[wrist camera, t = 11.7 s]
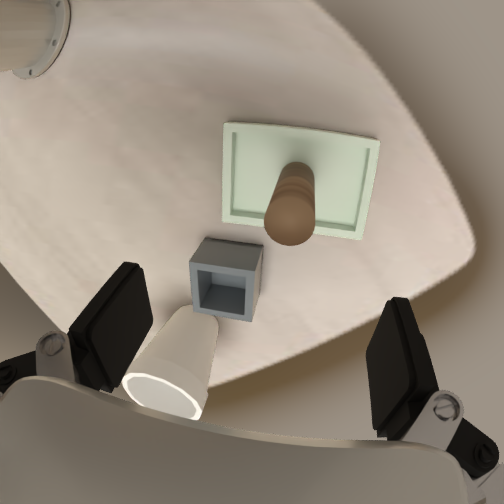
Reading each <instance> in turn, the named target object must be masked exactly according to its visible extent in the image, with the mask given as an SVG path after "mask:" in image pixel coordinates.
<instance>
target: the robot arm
mask: <svg viewBox="0 0 504 504" xmlns="http://www.w3.org/2000/svg"><path fill="white" fill-rule="evenodd" d="M69 20H70V10H69V4H68V1H67V0H0V72H2V71H8V70H12V71H13V73H14V74H15V75H16V76H17V77H19V78H22V79H30V78H34V77H37V76H39V75H40V74H42V73H43V72H44V71H46V70H47V69H48V68H49V66H50V65H51V64H52V63H53V61H54V60H55V58H56V57H57V55H58V54H59V52H60V50H61V48H62V46H63V43H64V40H65V38H66V35H67V31H68V26H69ZM152 324H153V315H152V311H151V306H150V302H149V297H148V292H147V287H146V282H145V277H144V271H143V269H142V268H140V266H139V264H137V263H132V262H123V263H122V264H121V266H120V267H119V268H118V269H117V270H116V271H115V272H114V274H113V275H112V276H111V277H110V278H109V279H108V281H107V282H106V283H105V284H104V285H103V287H102V288H101V289H100V290H99V291H98V293H97V294H96V295H95V296H94V297H93V299H92V300H91V301H90V302H89V304H88V305H87V306H86V307H85V309H84V310H83V311H82V312H81V314H80V315H79V316H78V317H77V319H76V320H75V321H74V322H73V324H72V325H71V326H70V328H69V332H68V333H67V334H66V333H64V332H62V331H57V330H56V331H50V332H48V333H46V334H44V335H43V336H42V337H41V338H40V339H39V341H38V343H37V344H36V350H35V351H32V352H29V353H26V354H23V355H20V356H17V357H14V358H11V359H8V360H5V361H3V362H1V363H0V504H504V464H503V463H501V464H499V463H498V460H499V450H498V447H497V445H496V443H495V442H494V441H493V440H492V439H490V438H489V437H488V436H486V435H485V434H484V433H482V432H481V431H480V430H479V429H477V428H476V427H474V426H473V425H472V424H471V423H469V422H468V421H467V420H465V419H464V418H463V413H464V409H463V408H464V407H463V404H462V402H461V400H460V399H459V397H458V396H457V395H455V394H454V393H452V392H450V391H446V390H440V391H439V387H438V384H437V380H436V376H435V373H434V369H433V365H432V362H431V359H430V355H429V352H428V349H427V346H426V342H425V339H424V337H423V335H422V334H421V333H420V331H419V328H418V325H417V322H416V319H415V317H414V314H413V311H412V308H411V305H410V302H409V300H408V299H407V298H401V297H393V298H392V299H391V300H388V301H387V302H386V304H385V307H384V310H383V312H382V315H381V317H380V319H379V322H378V324H377V327H376V329H375V331H374V334H373V336H372V338H371V341H370V343H369V345H368V347H367V350H366V361H367V370H368V379H369V388H370V399H371V410H372V424H373V429H374V430H377V437H387V441H383V440H337V439H318V438H305V437H293V436H284V435H276V434H268V433H261V432H254V431H247V430H241V429H235V428H229V427H224V426H220V425H214V424H210V423H205V422H201V421H196V420H192V419H188V418H184V417H180V416H176V415H172V414H168V413H165V412H161V411H158V410H154V409H151V408H147V407H144V406H141V405H138V404H135V403H131V402H128V401H125V400H123V399H119V398H117V397H114V396H111V395H108V394H105V393H102V392H99V390H100V389H101V390H103V391H106V392H109V393H112V391H113V389H114V388H115V387H118V386H119V385H120V383H121V381H122V379H123V377H124V375H125V373H126V372H127V370H128V368H129V366H130V364H131V362H132V361H133V359H134V357H135V355H136V353H137V351H138V350H139V348H140V346H141V344H142V342H143V341H144V339H145V337H146V335H147V333H148V332H149V330H150V328H151V326H152Z"/></svg>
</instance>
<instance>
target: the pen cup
mask: <svg viewBox="0 0 504 504" xmlns="http://www.w3.org/2000/svg"><path fill="white" fill-rule="evenodd" d="M262 257H263V245H257V244H249V243H242V242H234V241H226V240H219V239H211V238H205V239H204V240H203V242H202V243H201V245H200V246H199V247H198V249H197V250H196V252H195V253H194V255H193V256H192V258H191V259H190V261H189V269H190V281H191V293H192V304H193V312H197V313H203V314H208V315H213V316H219V317H224V318H230V319H236V320H242V321H248V322H252V319H253V316H254V312H255V309H256V305H257V301H258V298H259V294H260V283H261V270H262Z"/></svg>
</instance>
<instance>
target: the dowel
mask: <svg viewBox="0 0 504 504" xmlns="http://www.w3.org/2000/svg"><path fill="white" fill-rule="evenodd" d="M264 227H265V230H266V232H267V234H268V235H269V236H270V237H271V238H272V239H273V240H274V241H276V242H277V243H279V244H282V245H287V246H294V245H299V244H301V243H303V242H305V241H307V240H308V239H309V238H310V237H311V235H312V234H313V232H314V229H315V180H314V174H313V171H312V170H311V168H310V167H309V166H308V165H306V164H304V163H302V162H292V163H289V164H287V165H286V166H285V167H284V168H283V169H282V171H281V173H280V176H279V178H278V181H277V184H276V186H275V189H274V192H273V194H272V197H271V200H270V202H269V205H268V208H267V210H266V213H265V216H264Z"/></svg>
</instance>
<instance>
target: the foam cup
mask: <svg viewBox="0 0 504 504" xmlns="http://www.w3.org/2000/svg"><path fill="white" fill-rule="evenodd" d="M218 329H219V325H218V322H217V319H216V318H215V317H214V316H213V315H208V314H203V313H197V312H193V305H185V306H181V307H180V308H179V309H178V310H177V311H176V312H175V313H174V314H173V315H172V317H171V318H170V319H169V320H168V321H167V323H166V324H165V325H164V326H163V327H162V329H161V330H160V331H159V332H158V333H157V335H156V336H155V337H154V338H153V340H152V341H151V342H150V343H149V344H148V346H147V347H146V348H145V349H144V350H143V352H142V353H141V354H140V355H139V357H138V358H137V359H135V360H134V361H133V362H132V363H131V364H130V366H129V368H128V370H127V372H126V373H125V375H124V377H123V379H122V380H123V387H124V389H125V390H126V391H127V393H128V394H129V396H130V397H131V398H132V399H133V400H134V401H136V402H137V403H138V404H139V405H141V406H144V407H147V408H151V409H154V410H158V411H161V412H165V413H168V414H172V415H176V416H180V417H184V418H188V419H192V420H197V419H199V418H200V416H201V413H202V410H203V408H204V405H205V402H206V399H207V396H208V393H207V388H208V383H209V378H210V373H211V367H212V362H213V357H214V352H215V347H216V342H217V337H218V332H219V331H218Z"/></svg>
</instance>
